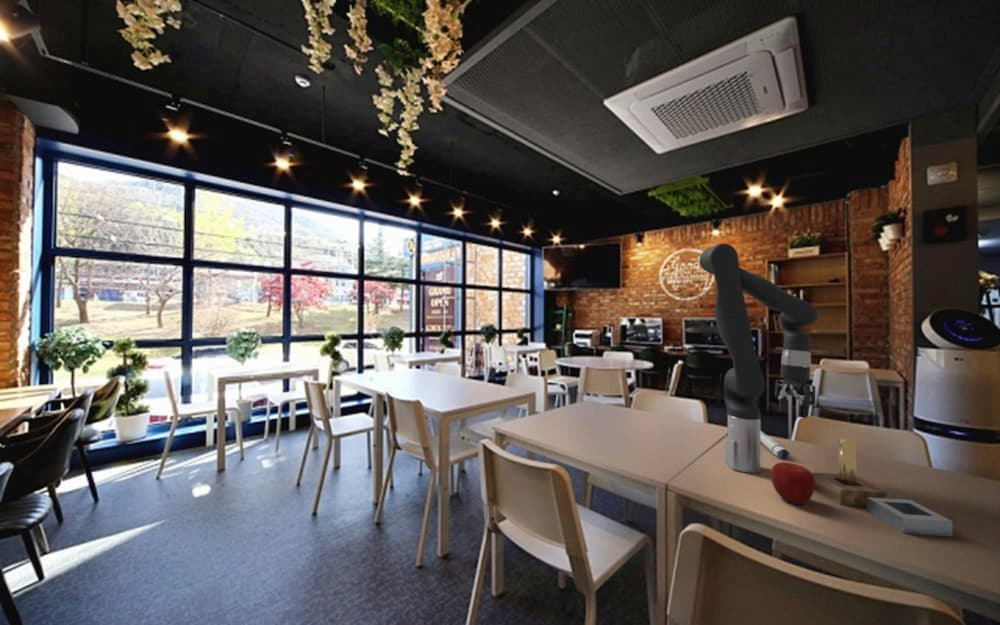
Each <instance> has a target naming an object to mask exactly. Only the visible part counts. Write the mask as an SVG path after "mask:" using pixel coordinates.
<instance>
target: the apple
mask: <svg viewBox="0 0 1000 625" xmlns="http://www.w3.org/2000/svg"><path fill="white" fill-rule="evenodd" d="M770 477H771V478H770V479H771V482H772V486H773V488H774V489H775V491H776V493H777V495H779V497H781V498H782V499H783V500H785V501H787V502H789V503H791V504H795V505H804V504H806V503H807V502H809V501H810V499H812V496H813V494H814V491H815V489H816V488H815V480H814V476H813V475H812V471H810V470H809V469H808V468H806V467H804V466H802V465H799V464H795V463H792V462H778V463H775V464H774V465H773V467H772V468H771V471H770Z"/></svg>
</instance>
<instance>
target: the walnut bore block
mask: <svg viewBox="0 0 1000 625" xmlns="http://www.w3.org/2000/svg"><path fill="white" fill-rule="evenodd" d="M811 473H812V475H813V476H814V480H815V489H816V490H818V491H820V493H823V494H824V495H826V496H827V497H828V498H830V499H832V500H833V501H834V502H836V503H838V504H839V505H840V506H844V505H845V506H857V507H858V506H859V507H860V506H861V507H867V497H871V498H887V499H888V496H887V495H888V492H887V491H886V490H883V489H881V488H880V487H878V486H876V485H874V484H871V483H870V482H868V481H866V480H864V479H863V478H861V477H859V476H857V475H856V486H849V485H843V484H842V483H840V482H839V473H830V472H829V473H828V472H812V471H811Z"/></svg>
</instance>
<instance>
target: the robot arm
mask: <svg viewBox="0 0 1000 625" xmlns="http://www.w3.org/2000/svg"><path fill="white" fill-rule="evenodd" d="M698 262H699V265H700V267H701V269H702V270H704V271H705V272H706V273H709V274H711V275H713V277H714V281H715V284H716V296H715V297H716V298H715V305H714V316H715V321H716V326H717V331H718V333H719V335H720V338H721V340H722V341H723V344H724V345H725V347H726V349H727V350H728V352H729V354H730V357H731V359H732V363H733V367H732V368H730V369H728V370H727V372H726V373H725V376H724V379H723V380H724V381H723V388H724V389H723V390H724V391H723V392H724V405H725V406H726V410H727V435H725V436H724V461H725V462H724V463H725V464H726V465H727V466H728V467H730V469H731V470H734V471H739V472H742V473H743V472H744V473H750V474H754V473H760V472H761V466H762V463H761V460H762V458H761V457H762V456H761V454H762V453H761V452H762V451H761V445H762V444H761V441H760V431H761V410H760V408H759V406H757V404H756V402H755V399H758V398H759V397H761V395H762V394H763V393H764V391H765V389H766V382H765V377H764V375H763V371H762V369H761V366H760V365H761V364H760V362H759V360H758V357H757V353H756V349H755V343H754V340H753V339H754V338H753V334H752V329H751V324H750V318H749V315H748V314H749V313H748V310H747V307H746V301H745V296H744V292H745V293H746V294H748V295H749V296H751V297H752V298H754V299H755V300H756V301H758V302H759V303H761V304H762V305H763V306H765V307H766V308H768V309H769V310H771V311H772V310H773V311H777V312H780V315H779V321H780V327H781V331H782V335H783V344H782V345H783V346H782V349H783V350H782V353H781V362H780V366H781V367H780V377H781V378H783V379H775V386H774V397H776V398H777V399H778V410H779V412H783V413H787V412H788V405H789V404H788V402H789V401H788V399H789V398H790V397H794V398H795V399H797V401H798V402H799V405H798V417H799V418H804V419H807V418H808V416H809V407H810V406H815V405H816V386H815V385H812V384H807V382H808V381H810V379H811V364H812V358H811V357H812V356H811V355H812V354H811V348H812V346H811V345H812V338H811V335H809V334H808V333H805V332H804V327H803V326H809V325H812V324H815V322H817V320H818V319H819V312H818V310H817V308H816V307H815V306H814V305H813V304H811V303H810V302H808V301H806V300H804V299H801V298H799V297H797V296H795V295H793V294H790V293H788V292H786V291H785V290H784V289H782V288H780V287H779V286H778V285H777V284H775V283H773V282H772V281H770V280H768V279H765V278H764V277H762V276H759V275H756V274H754V273H752V272H751V271H748V270H746V269H744V268H742V267H740V262H739V255H738V252H737V250H736V249H735V248H734V246H732V244H731V245H730V244H728V243H719V244H716V245H714V246H710V247H709V248H706V249H705V250H704V251H702V252H701V254H700V255H699V260H698ZM809 399H810V400H809Z"/></svg>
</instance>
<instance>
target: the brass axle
mask: <svg viewBox="0 0 1000 625" xmlns="http://www.w3.org/2000/svg"><path fill="white" fill-rule="evenodd" d="M838 474H839V482H840V483H842V484H843V485H849V486H856V476H857V440H856V439H852V438H850V437H843V436H840V437H838Z"/></svg>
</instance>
